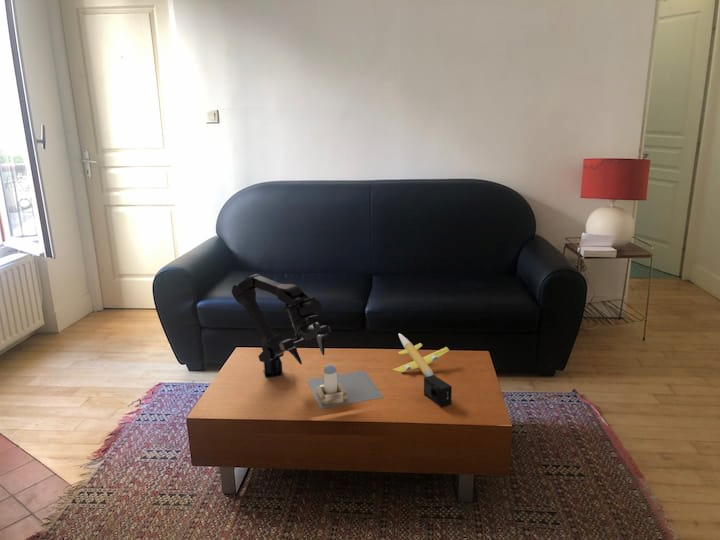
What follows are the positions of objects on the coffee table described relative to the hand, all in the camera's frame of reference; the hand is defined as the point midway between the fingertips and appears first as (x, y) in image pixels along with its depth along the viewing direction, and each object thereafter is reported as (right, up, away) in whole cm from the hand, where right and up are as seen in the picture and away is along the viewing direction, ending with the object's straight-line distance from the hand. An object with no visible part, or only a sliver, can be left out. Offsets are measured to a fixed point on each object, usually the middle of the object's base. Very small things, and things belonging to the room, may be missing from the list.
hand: (312, 359), depth 197 cm
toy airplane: (+40, -6, +17) cm, 44 cm away
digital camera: (+44, -13, -9) cm, 47 cm away
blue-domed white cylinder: (+7, -12, -8) cm, 16 cm away
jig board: (+12, -11, -1) cm, 16 cm away
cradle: (+7, -13, -8) cm, 17 cm away
